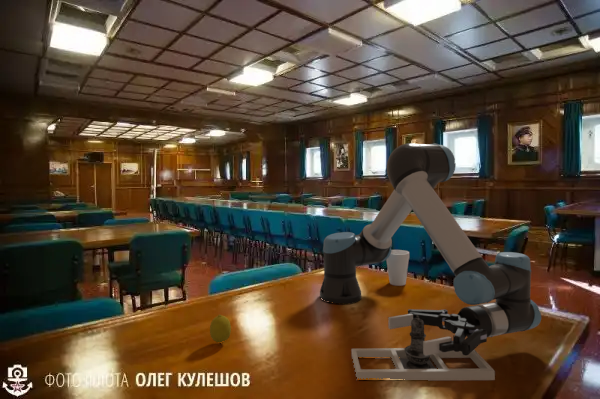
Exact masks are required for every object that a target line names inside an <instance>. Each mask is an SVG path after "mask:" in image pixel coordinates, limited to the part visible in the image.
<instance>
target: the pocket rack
mask: <svg viewBox="0 0 600 399" xmlns="http://www.w3.org/2000/svg"><path fill="white" fill-rule="evenodd" d="M405 348H406V347H397V348H394V347H393V348H392V347H390V348H389V347H385V348H382V347H381V348H380V347H379V348H377V347H375V348H371V347H370V348H351V350H350V351H351V360H352V359H353V361H352V364H353V363H354V365H353V369H354V368H355V370H354V373H355V372H356V374H355V378H356V377H357V379H358V378H359V379H360V378H361V379H363V378H364V379H366V378H368V379H369V378H376V379H377V378H379V379H380V378H381V379H383V378H390V379H403V380H404V379H405V380H428V381H495V380H496V379H495V378H496V377H495V376H496V371H495V370H494V368H493V367H492V366H491V365H490V364H489V363H488V362H487V361H486V360H485V359H484V358H483V357H482V355H481V354H480V353H478V352H477V351H476V350H475V349H474V350H473V351H472V352H471V353H470V354H469V355H463V354H462V352H461V351H459V352H455V351H454V350H453V351H447V352H441V353H436V354H431V356H430V359H429V361H428V362H427V363H428V364H429V365H430V369H408V368H407V366H406V363H407V362H408V361H410V360H409V359H408V358H407V356H406V352H405ZM358 357H391V358H392V359H391V358H390V359H391V362H392V361H393V362H392V364H393V363H394V364H393V366H394V365H395V366H394V368H390V369H389V368H384V369H383V368H380V369H379V368H377V369H370V368H369V369H368V368H367V369H363V368H362V367H361V365H360V360H359V359H358ZM399 357H400V358H399ZM456 358H457V359H462V358H464V359H471V360H472V362H473V363H474V364H475V366H477V367H478V368H448V366H447V365H446V364H445V363H444V361H443V360H442V359H456ZM433 362H434V363H433ZM435 365H436V366H435ZM395 367H396V368H395ZM437 368H438V369H437ZM357 379H356V380H357Z"/></svg>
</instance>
